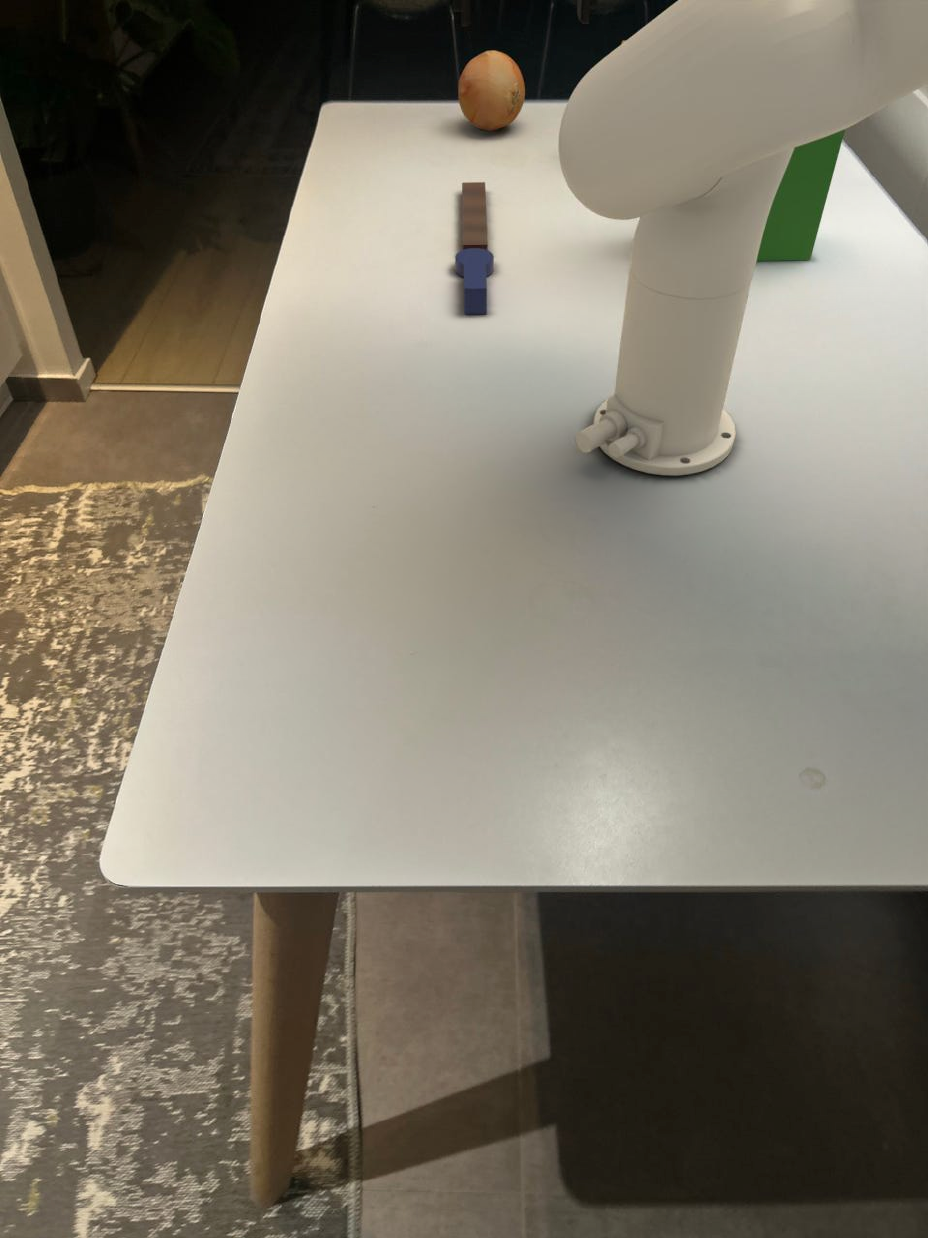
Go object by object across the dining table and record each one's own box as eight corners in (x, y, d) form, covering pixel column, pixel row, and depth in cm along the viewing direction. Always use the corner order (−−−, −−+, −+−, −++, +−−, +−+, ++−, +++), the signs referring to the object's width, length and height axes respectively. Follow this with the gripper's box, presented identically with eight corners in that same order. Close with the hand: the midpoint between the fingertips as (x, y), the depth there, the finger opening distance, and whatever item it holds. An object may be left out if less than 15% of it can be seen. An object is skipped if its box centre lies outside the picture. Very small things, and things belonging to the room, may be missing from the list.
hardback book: (657, 263, 106) (692, 22, 89) (647, 234, 111) (678, 2, 94) (810, 259, 106) (874, 18, 89) (793, 231, 111) (851, -2, 94)
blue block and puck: (496, 314, 99) (496, 287, 97) (455, 314, 99) (454, 288, 97) (493, 260, 108) (493, 235, 105) (455, 261, 108) (454, 235, 105)
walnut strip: (487, 256, 108) (487, 244, 107) (462, 257, 108) (462, 244, 107) (485, 193, 121) (485, 181, 119) (462, 193, 121) (462, 182, 119)
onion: (502, 145, 132) (504, 66, 125) (445, 132, 136) (443, 55, 128) (536, 124, 137) (539, 47, 130) (480, 112, 141) (480, 37, 134)
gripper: (403, -263, 61) (417, 35, 73) (666, -269, 60) (635, 31, 73) (408, -271, 66) (420, 9, 78) (650, -276, 66) (624, 5, 78)
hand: (524, 20), depth 76 cm, fingers open, 9 cm apart
